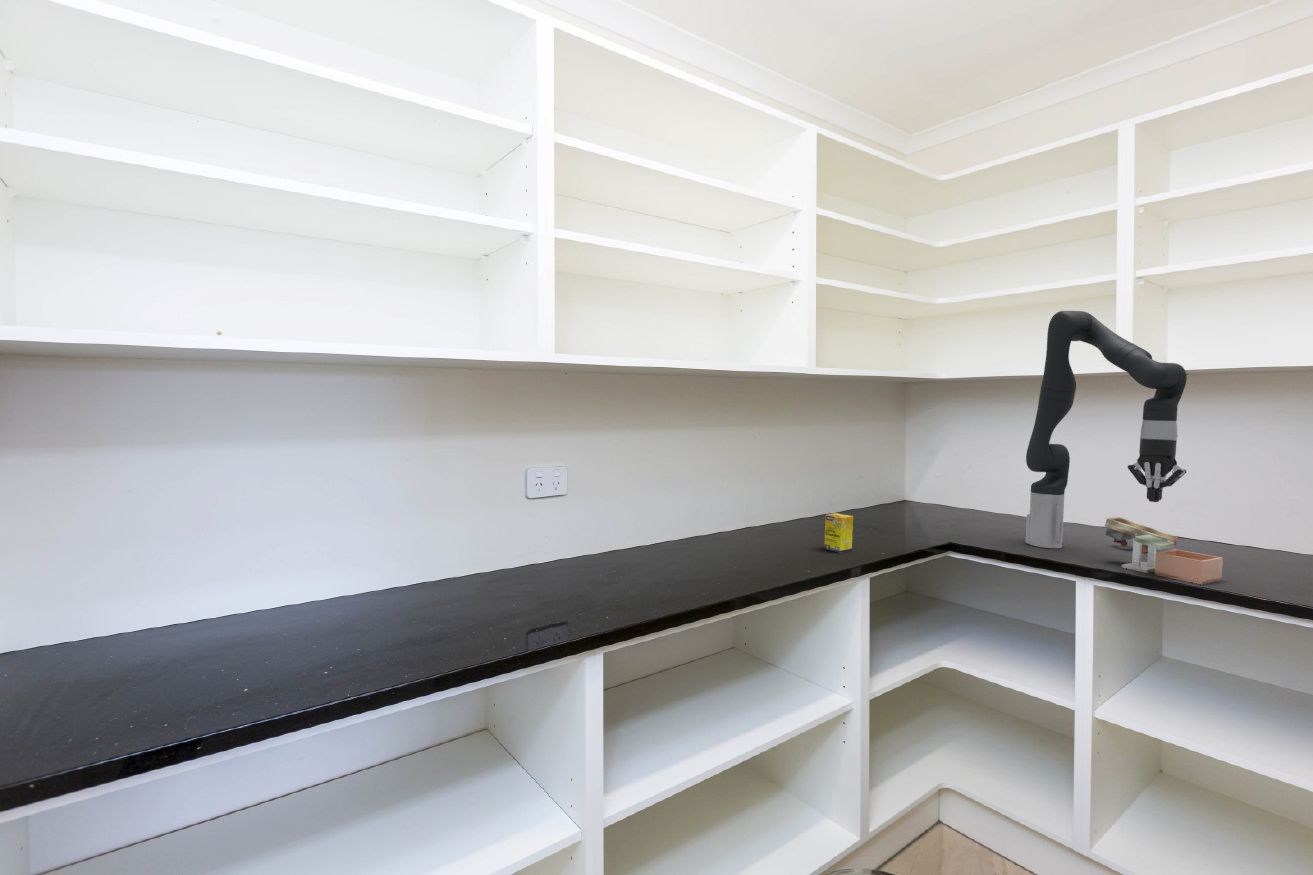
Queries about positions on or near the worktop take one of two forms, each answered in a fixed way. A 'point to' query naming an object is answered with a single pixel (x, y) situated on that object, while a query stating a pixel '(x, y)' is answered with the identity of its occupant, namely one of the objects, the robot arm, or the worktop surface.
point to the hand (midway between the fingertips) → (1154, 501)
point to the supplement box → (838, 532)
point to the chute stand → (1136, 558)
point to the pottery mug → (1124, 543)
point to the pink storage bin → (1189, 566)
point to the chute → (1149, 537)
